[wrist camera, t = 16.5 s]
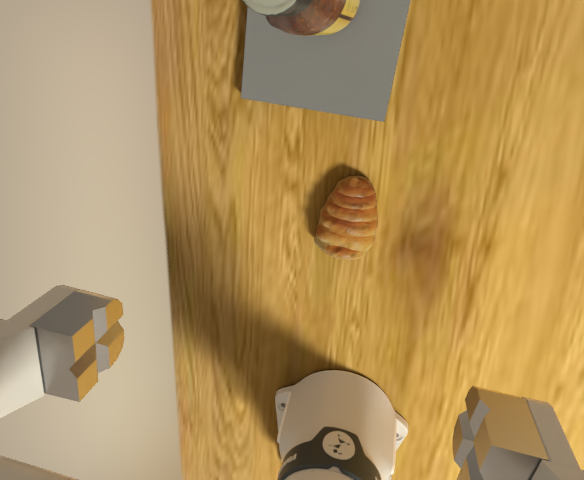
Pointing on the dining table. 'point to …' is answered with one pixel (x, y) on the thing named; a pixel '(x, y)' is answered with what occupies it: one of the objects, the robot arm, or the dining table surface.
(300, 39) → the serving board
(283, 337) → the dining table surface
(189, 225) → the dining table surface
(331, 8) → the sauce bottle
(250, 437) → the dining table surface
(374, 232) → the pastry
